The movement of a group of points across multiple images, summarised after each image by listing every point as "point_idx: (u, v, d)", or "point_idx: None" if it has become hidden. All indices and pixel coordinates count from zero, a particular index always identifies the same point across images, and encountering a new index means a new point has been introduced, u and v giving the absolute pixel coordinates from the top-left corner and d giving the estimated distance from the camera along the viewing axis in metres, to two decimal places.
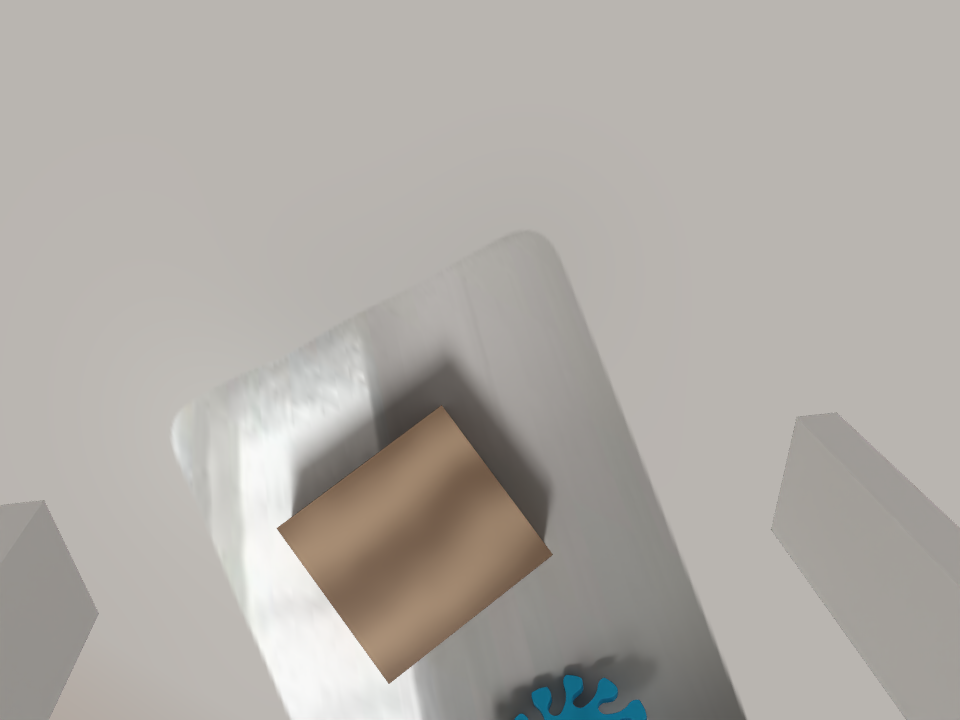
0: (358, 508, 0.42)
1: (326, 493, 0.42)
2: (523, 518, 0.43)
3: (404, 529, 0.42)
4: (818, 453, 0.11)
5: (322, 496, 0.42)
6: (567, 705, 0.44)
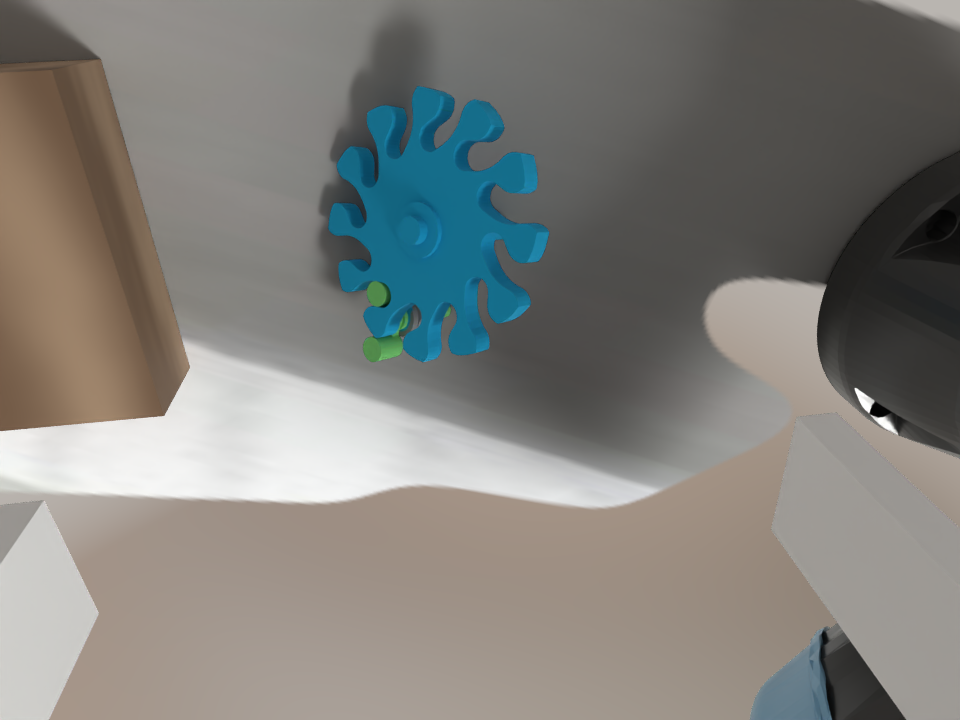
0: None
1: None
2: None
3: None
4: (818, 453, 0.11)
5: None
6: (364, 196, 0.26)
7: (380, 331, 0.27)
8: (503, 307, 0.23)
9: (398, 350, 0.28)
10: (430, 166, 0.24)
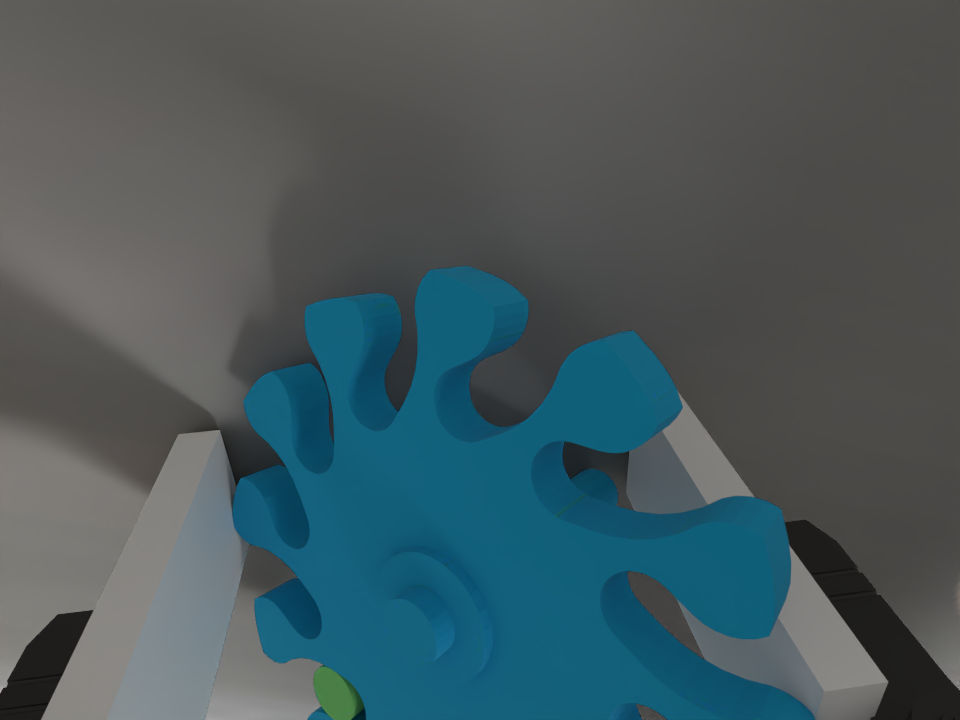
0: None
1: None
2: None
3: None
4: None
5: None
6: (303, 487, 0.11)
7: None
8: None
9: None
10: (463, 475, 0.09)
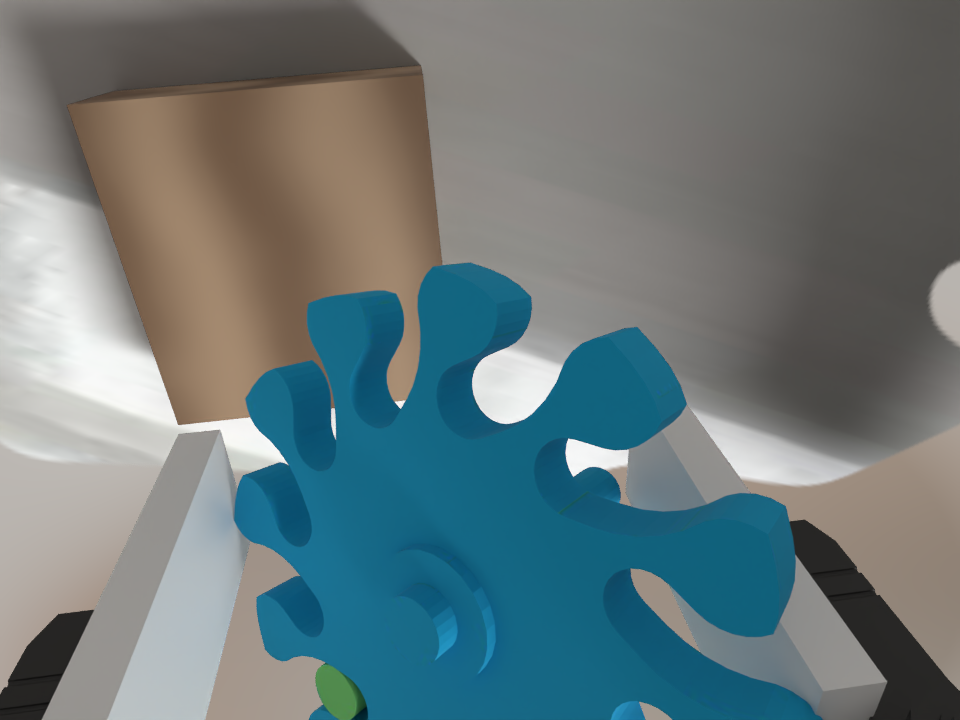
0: (197, 318, 0.26)
1: (154, 347, 0.27)
2: (336, 86, 0.23)
3: (259, 275, 0.26)
4: None
5: (156, 354, 0.27)
6: (306, 484, 0.11)
7: None
8: None
9: None
10: (465, 473, 0.09)
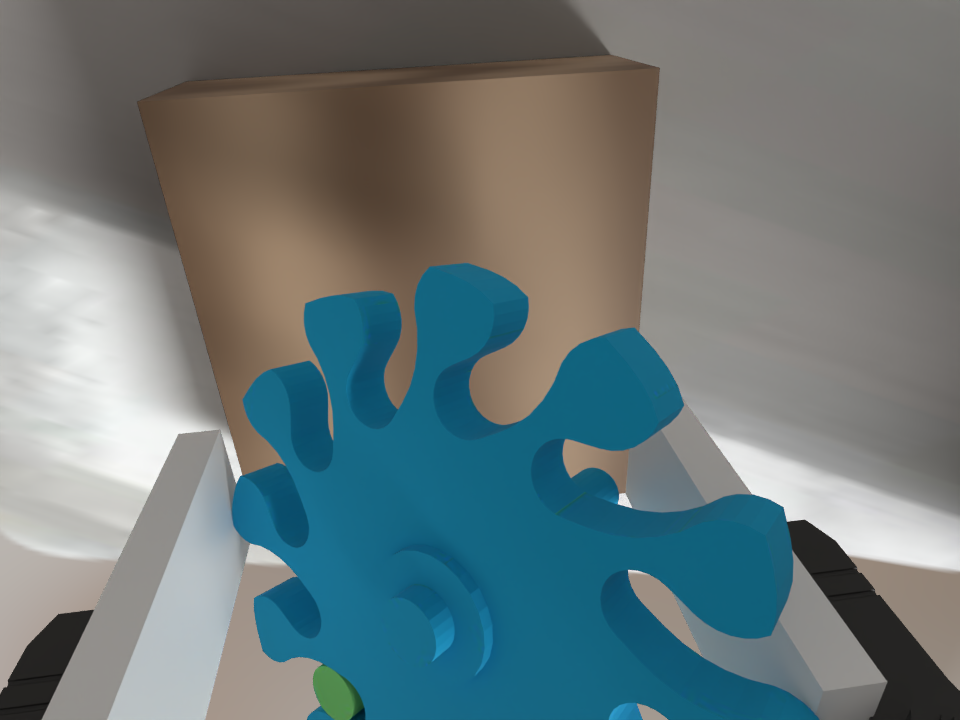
0: None
1: (236, 437, 0.19)
2: (535, 81, 0.15)
3: None
4: None
5: (238, 447, 0.19)
6: (303, 485, 0.11)
7: None
8: None
9: None
10: (462, 474, 0.09)
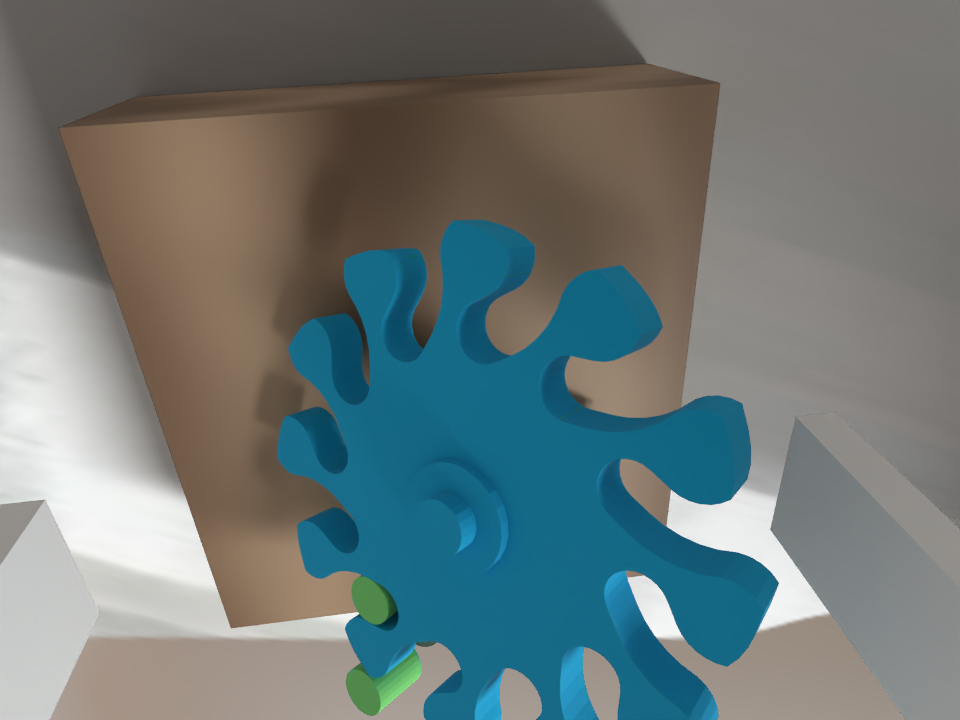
0: (275, 480, 0.16)
1: (200, 523, 0.16)
2: (565, 100, 0.12)
3: None
4: (817, 453, 0.11)
5: (203, 533, 0.16)
6: (342, 418, 0.13)
7: (377, 669, 0.14)
8: None
9: (414, 678, 0.15)
10: (482, 393, 0.11)
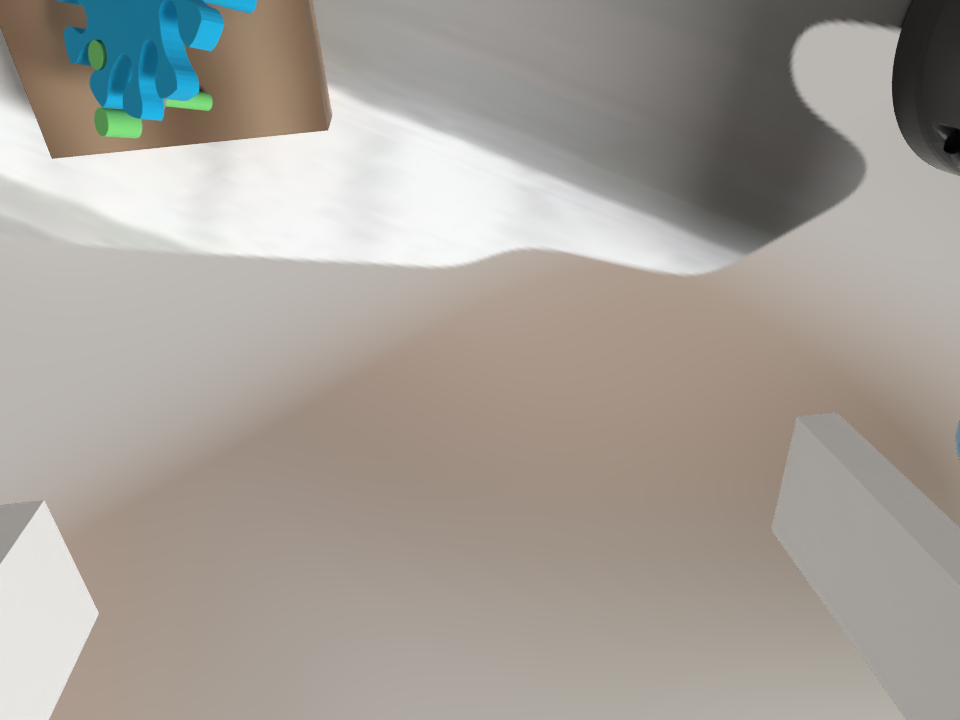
0: (60, 32, 0.27)
1: (18, 65, 0.27)
2: None
3: None
4: (818, 453, 0.11)
5: (21, 73, 0.27)
6: None
7: (104, 98, 0.25)
8: (190, 25, 0.21)
9: (136, 126, 0.26)
10: None
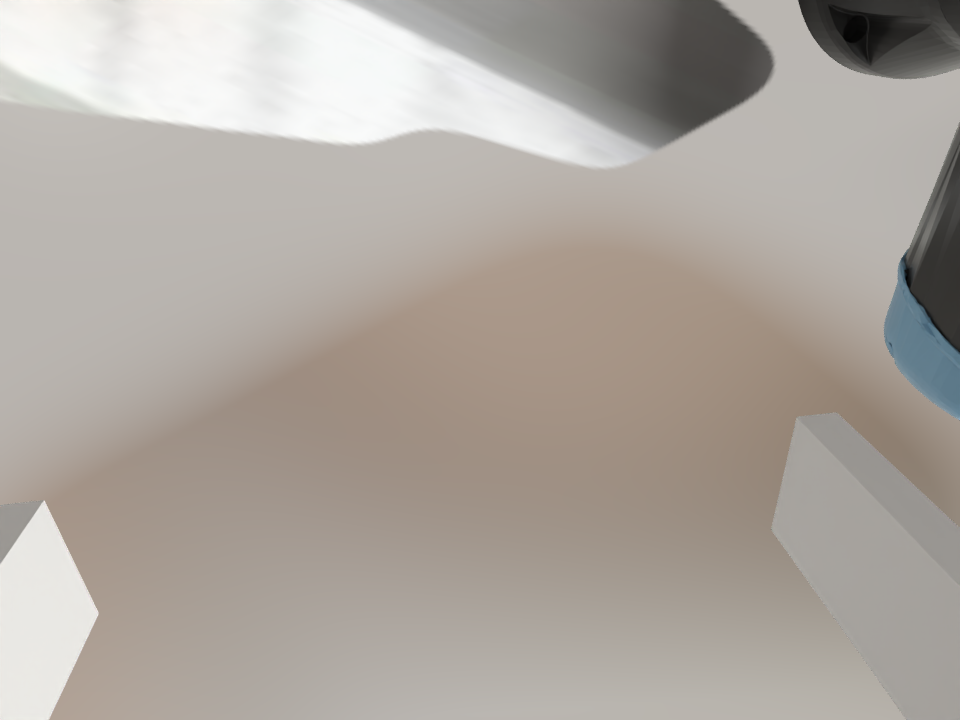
0: None
1: None
2: None
3: None
4: (818, 453, 0.11)
5: None
6: None
7: None
8: None
9: None
10: None
